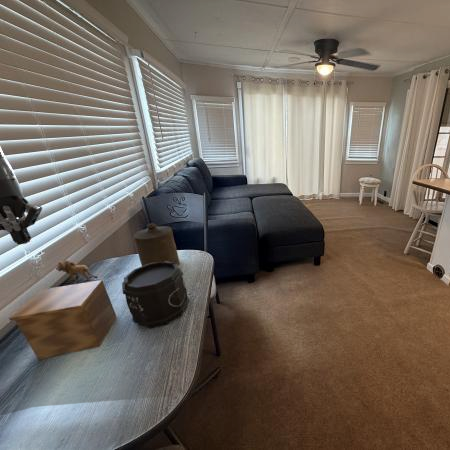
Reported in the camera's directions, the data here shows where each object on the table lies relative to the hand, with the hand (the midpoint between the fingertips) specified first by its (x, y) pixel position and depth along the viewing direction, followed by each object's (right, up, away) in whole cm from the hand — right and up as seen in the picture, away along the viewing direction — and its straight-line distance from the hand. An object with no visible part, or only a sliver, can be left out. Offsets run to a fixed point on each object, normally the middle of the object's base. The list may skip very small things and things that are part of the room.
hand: (24, 242), depth 63 cm
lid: (+4, -17, +5) cm, 18 cm away
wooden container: (+9, -15, +48) cm, 51 cm away
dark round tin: (+25, -26, +21) cm, 41 cm away
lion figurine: (-23, -19, +41) cm, 51 cm away
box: (+5, -30, +11) cm, 32 cm away
